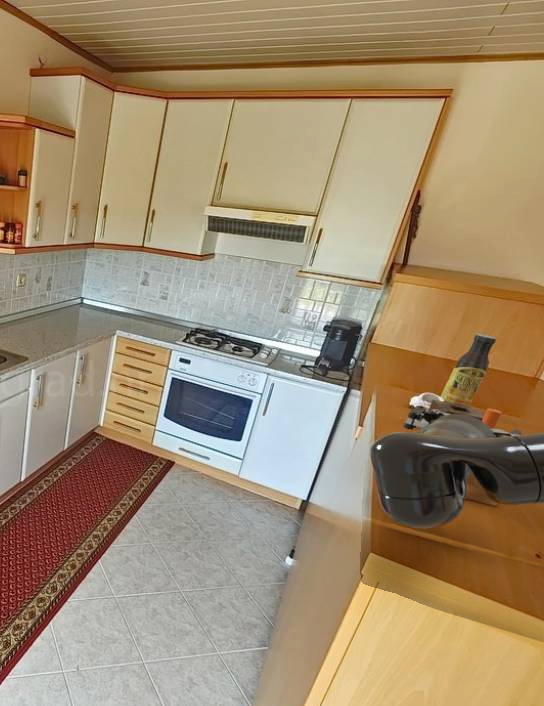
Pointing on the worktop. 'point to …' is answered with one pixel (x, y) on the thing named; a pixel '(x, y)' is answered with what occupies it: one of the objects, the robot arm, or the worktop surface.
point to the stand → (477, 492)
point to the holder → (457, 409)
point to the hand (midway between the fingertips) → (478, 424)
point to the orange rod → (491, 417)
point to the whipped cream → (425, 400)
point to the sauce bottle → (469, 372)
